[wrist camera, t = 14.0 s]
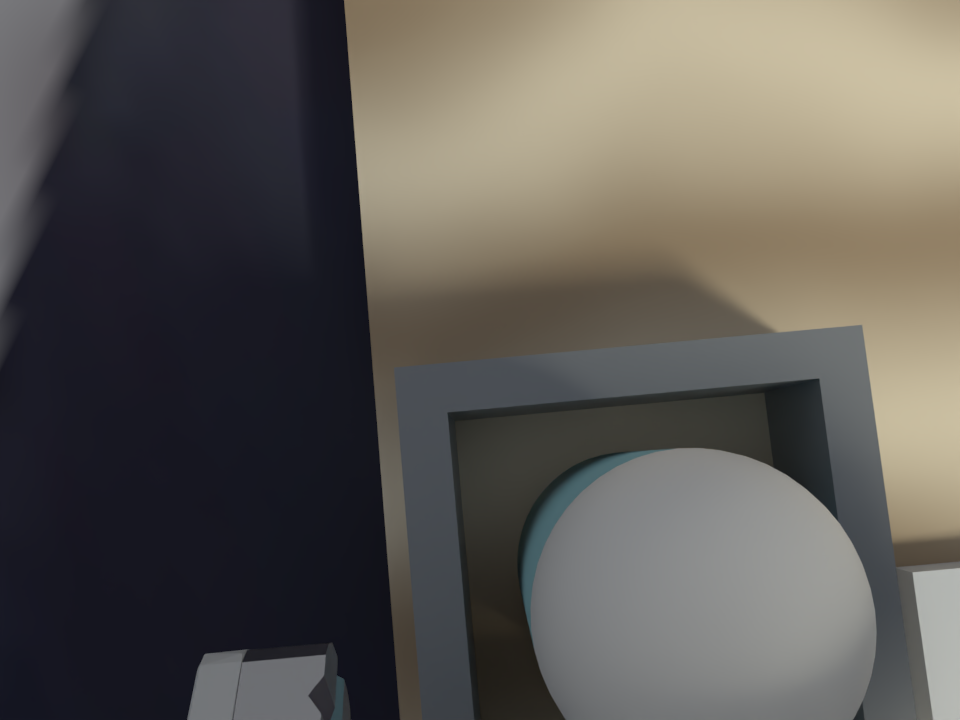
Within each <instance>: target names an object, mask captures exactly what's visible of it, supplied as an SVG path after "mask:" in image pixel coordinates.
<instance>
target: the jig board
mask: <svg viewBox="0 0 960 720" xmlns="http://www.w3.org/2000/svg"><path fill="white" fill-rule="evenodd" d="M344 4H345V17H346V30H347V43H348V56H349V69H350V82H351V94H352V107H353V120H354V133H355V146H356V159H357V172H358V185H359V197H360V210H361V223H362V236H363V249H364V262H365V275H366V287H367V300H368V313H369V326H370V339H371V352H372V365H373V378H374V390H375V403H376V416H377V429H378V442H379V455H380V468H381V480H382V493H383V506H384V519H385V532H386V545H387V558H388V571H389V583H390V596H391V609H392V622H393V635H394V648H395V661H396V673H397V686H398V699H399V712H400V720H422V711H421V698H420V686H419V673H418V661H417V649H416V636H415V624H414V611H413V599H412V586H411V574H410V561H409V549H408V537H407V524H406V512H405V499H404V487H403V474H402V462H401V449H400V437H399V425H398V412H397V400H396V387H395V375H394V368H395V367H406V366H417V365H427V364H438V363H449V362H460V361H471V360H482V359H493V358H504V357H515V356H526V355H537V354H548V353H559V352H570V351H581V350H592V349H603V348H614V347H625V346H635V345H646V344H657V343H668V342H679V341H690V340H701V339H712V338H723V337H734V336H745V335H756V334H767V333H778V332H789V331H800V330H811V329H822V328H833V327H844V326H854V325H862V327H863V334H864V342H865V349H866V356H867V363H868V370H869V377H870V385H871V392H872V399H873V406H874V413H875V421H876V428H877V435H878V442H879V449H880V456H881V464H882V471H883V478H884V485H885V492H886V499H887V507H888V514H889V521H890V528H891V535H892V543H893V550H894V557H895V564H896V567H904V566H915V565H926V564H937V563H948V562H959V561H960V0H344ZM455 430H456V441H457V452H458V464H459V475H460V487H461V498H462V510H463V521H464V533H465V544H466V556H467V567H468V578H469V590H470V601H471V613H472V624H473V636H474V647H475V659H476V670H477V681H478V693H479V704H480V716H481V720H566V719H565V718H564V716H563V715H562V713H561V711H560V710H559V708H558V706H557V705H556V703H555V701H554V700H553V698H552V696H551V694H550V692H549V690H548V688H547V686H546V683H545V681H544V679H543V676H542V674H541V671H540V668H539V664H538V661H537V658H536V654H535V651H534V646H533V642H532V638H531V634H530V629H529V625H528V621H527V616H526V612H525V608H524V603H523V599H522V595H521V590H520V585H519V579H518V568H517V556H518V546H519V541H520V537H521V532H522V529H523V526H524V523H525V521H526V518H527V516H528V514H529V512H530V510H531V508H532V506H533V504H534V503H535V501H536V500H537V499H538V497H539V496H540V494H541V493H542V492H543V491H544V490H545V488H546V487H547V486H548V485H549V484H550V483H551V482H552V481H553V480H554V479H556V478H557V477H558V476H559V475H561V474H562V473H563V472H565V471H566V470H568V469H569V468H571V467H573V466H574V465H576V464H578V463H580V462H583V461H585V460H587V459H590V458H593V457H596V456H600V455H604V454H610V453H617V452H632V451H647V450H662V449H677V448H704V449H714V450H721V451H726V452H730V453H734V454H738V455H743V456H746V457H749V458H752V459H754V460H757V461H760V462H762V463H765V464H767V465H769V466H771V467H773V468H774V466H773V458H772V450H771V442H770V434H769V426H768V418H767V410H766V403H765V395H764V393H757V394H746V395H735V396H724V397H713V398H702V399H691V400H680V401H669V402H658V403H647V404H636V405H625V406H614V407H603V408H592V409H581V410H570V411H559V412H548V413H538V414H527V415H516V416H505V417H494V418H483V419H472V420H461V421H455Z"/></svg>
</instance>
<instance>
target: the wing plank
mask: <svg viewBox="0 0 960 720" xmlns="http://www.w3.org/2000/svg"><path fill="white" fill-rule="evenodd" d="M896 571H897V578H898V586H899V593H900V600H901V607H902V614H903V622H904V629H905V636H906V643H907V650H908V657H909V665H910V672H911V679H912V686H913V693H914V700H915V708H916V715H917V720H960V561H959V562H948V563H937V564H926V565H915V566H904V567H896Z"/></svg>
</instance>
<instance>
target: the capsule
mask: <svg viewBox="0 0 960 720" xmlns="http://www.w3.org/2000/svg"><path fill="white" fill-rule="evenodd" d="M517 568H518V579H519V585H520V590H521V595H522V599H523V603H524V608H525V612H526V616H527V621H528V625H529V629H530V634H531V638H532V642H533V646H534V651H535V654H536V658H537V661H538V664H539V668H540V671H541V674H542V676H543V679H544V681H545V683H546V686H547V688H548V690H549V692H550V694H551V696H552V698H553V700H554V701H555V703H556V705H557V706H558V708H559V710H560V711H561V713H562V715H563V716H564V718H565V719H566V720H853V719H854V717H855V716H856V713H857V711H858V709H859V707H860V705H861V703H862V701H863V699H864V697H865V694H866V691H867V688H868V685H869V682H870V679H871V675H872V670H873V665H874V659H875V653H876V635H877V630H876V616H875V608H874V603H873V598H872V593H871V588H870V585H869V582H868V579H867V576H866V573H865V570H864V567H863V565H862V562H861V560H860V558H859V556H858V554H857V552H856V550H855V548H854V546H853V544H852V542H851V540H850V539H849V537H848V536H847V534H846V533H845V531H844V529H843V528H842V526H841V525H840V523H839V522H838V521H837V520H836V519H835V517H834V516H833V515H832V514H831V513H830V512H829V510H828V509H827V508H826V507H825V506H824V505H823V504H822V503H821V502H820V501H819V500H818V499H817V498H815V497H814V496H813V495H812V494H811V493H810V492H809V491H808V490H807V489H805V488H804V487H803V486H801V485H800V484H799V483H797V482H796V481H794V480H793V479H792V478H790V477H789V476H787V475H786V474H784V473H782V472H780V471H778V470H777V469H775V468H773V467H771V466H769V465H767V464H765V463H762V462H760V461H757V460H754V459H752V458H749V457H746V456H743V455H738V454H734V453H730V452H726V451H721V450H714V449H704V448H677V449H662V450H647V451H632V452H617V453H610V454H604V455H600V456H596V457H593V458H590V459H587V460H585V461H583V462H580V463H578V464H576V465H574V466H573V467H571V468H569V469H568V470H566V471H565V472H563V473H562V474H561V475H559V476H558V477H557V478H556V479H554V480H553V481H552V482H551V483H550V484H549V485H548V486H547V487H546V488H545V490H544V491H543V492H542V493H541V494H540V496H539V497H538V499H537V500H536V501H535V503H534V504H533V506H532V508H531V510H530V512H529V514H528V516H527V518H526V521H525V523H524V526H523V529H522V532H521V537H520V541H519V546H518V556H517Z"/></svg>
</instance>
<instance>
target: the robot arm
mask: <svg viewBox="0 0 960 720" xmlns="http://www.w3.org/2000/svg"><path fill="white" fill-rule="evenodd" d="M337 664H338V657H337V654H336V651H335V649H334V646H333V643H332V642H331V643H320V644H309V645H297V646H286V647H275V648H264V649H253V650H249V649H246V650H237V651H227V652H218V653H208V654H205V655H204V657H203V659H202V661H201V663H200V665H199V667H198V669H197V674H196V679H195V684H194V689H193V693H192V698H191V703H190V708H189V713H188V718H187V720H351V716H350V704H349V697H348V691H347V688H346V684H345V680H344V679H343V678H341V677H339V676H338V675H337Z"/></svg>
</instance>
